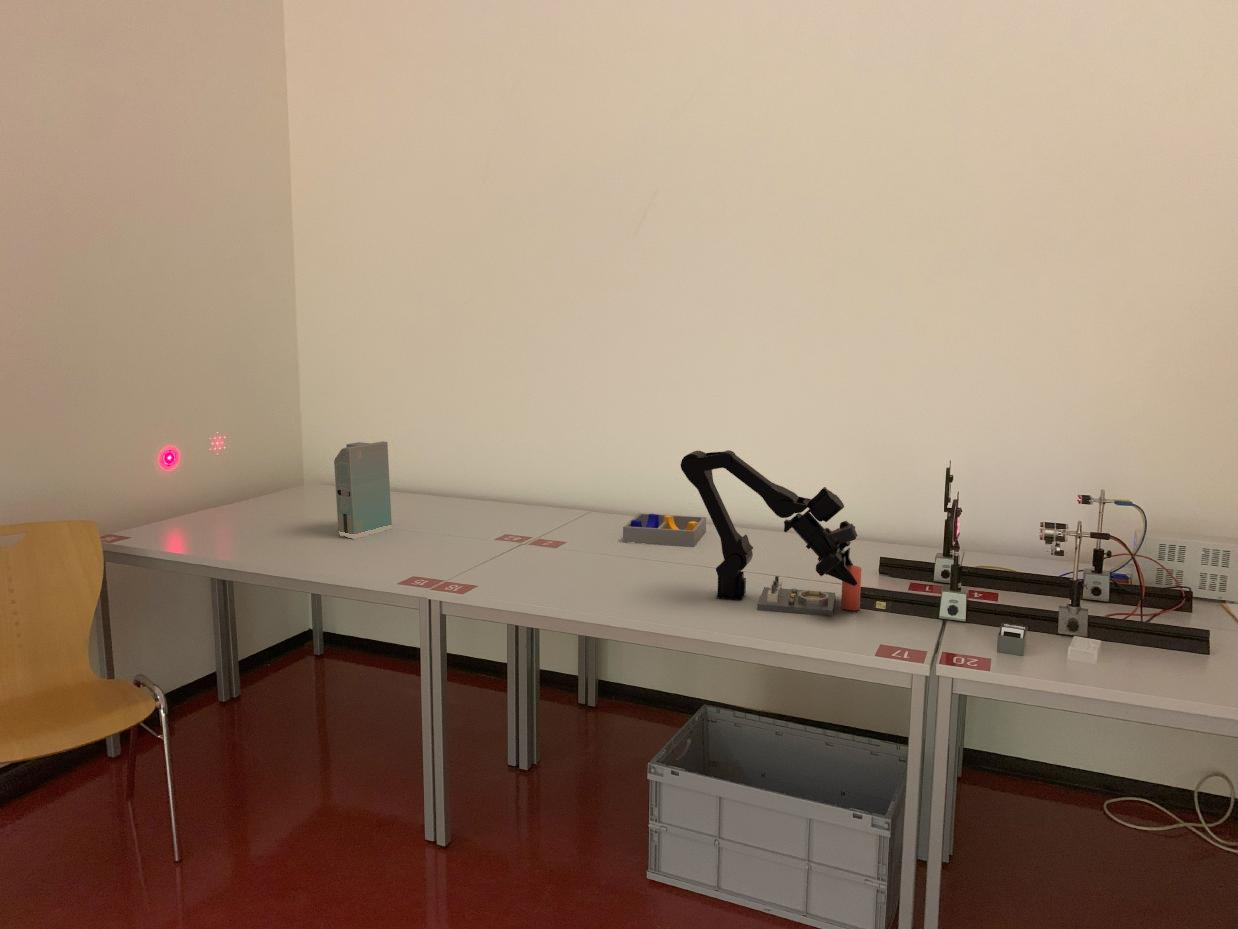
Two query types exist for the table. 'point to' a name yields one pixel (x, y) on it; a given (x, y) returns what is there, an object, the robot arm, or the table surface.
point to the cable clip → (652, 522)
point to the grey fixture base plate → (796, 600)
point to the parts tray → (665, 531)
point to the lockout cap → (852, 590)
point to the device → (362, 487)
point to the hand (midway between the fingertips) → (857, 582)
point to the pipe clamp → (671, 525)
